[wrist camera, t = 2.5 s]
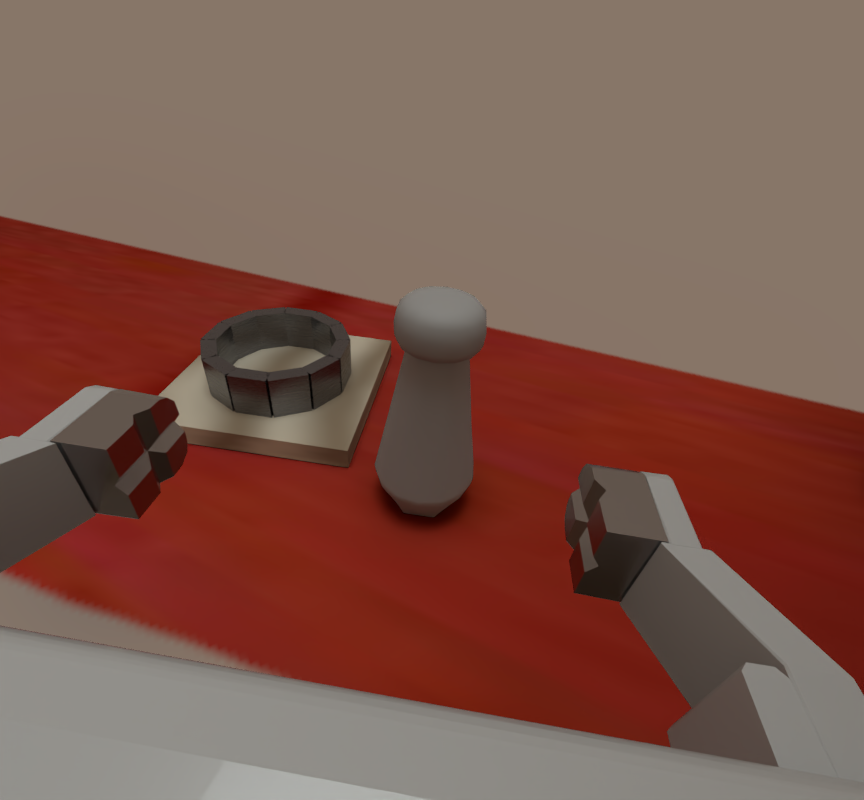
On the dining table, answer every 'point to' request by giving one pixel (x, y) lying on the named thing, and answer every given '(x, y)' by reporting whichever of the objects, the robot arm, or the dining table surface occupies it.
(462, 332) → the salt shaker
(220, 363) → the metal collar
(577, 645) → the dining table surface
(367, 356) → the birch stand
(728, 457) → the dining table surface
